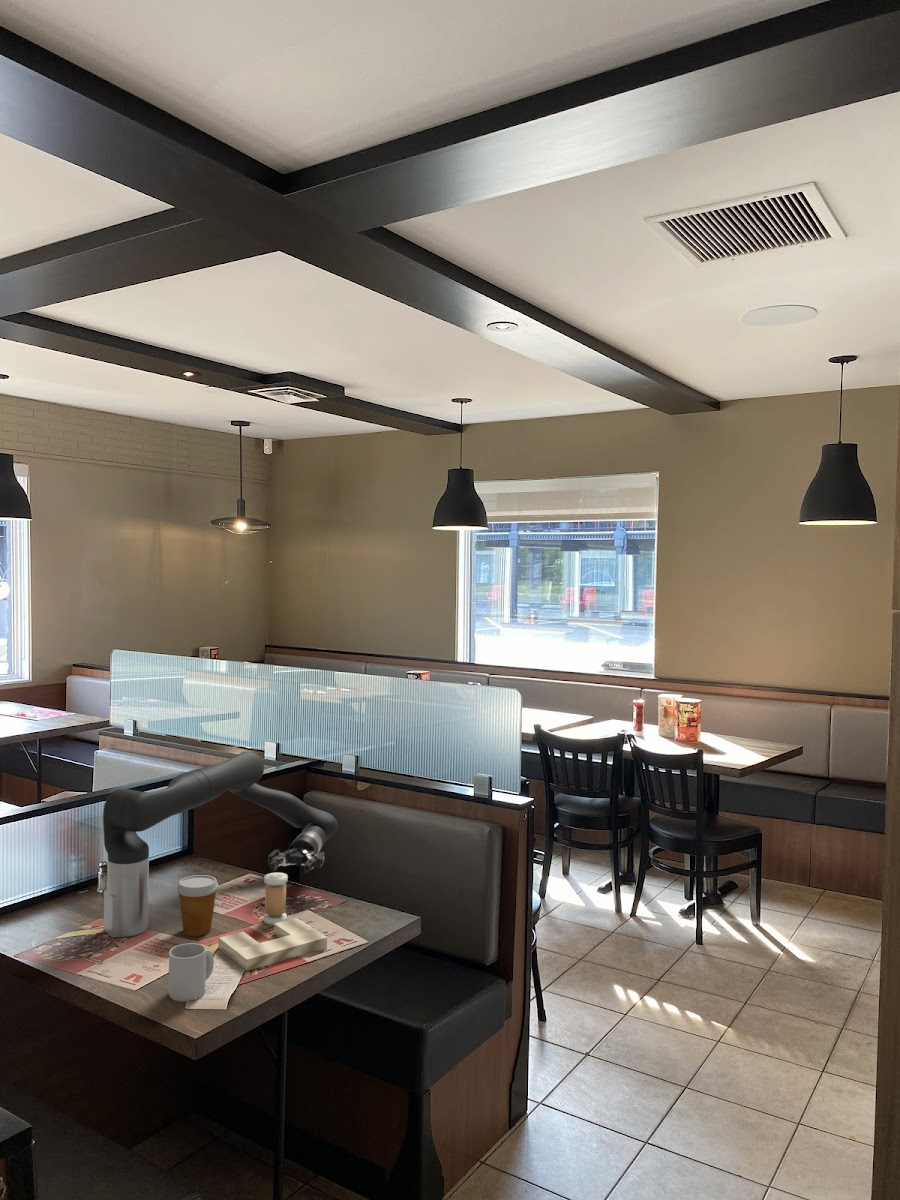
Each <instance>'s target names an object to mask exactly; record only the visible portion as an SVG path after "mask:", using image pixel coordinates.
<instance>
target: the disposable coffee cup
mask: <svg viewBox="0 0 900 1200" xmlns="http://www.w3.org/2000/svg"><path fill="white" fill-rule="evenodd" d="M218 888H219V883H218V881H217V878H216V877H215V876H212V875H208V874H195V875H190V876H186V877H183V878H181V879H180V880H179V881H178V885H177V886H176V891H177V893H178V897H179V905H180V914H181V922H182V923H181V924H182V933H183V934H184V935H186V936H189V937H200V936H204V935H206V934H209V933H210V932H211V931H212V923H213V917H214V909H215V901H216V897H217V896H216V895H217V894H216V893H217V890H218Z"/></svg>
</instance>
